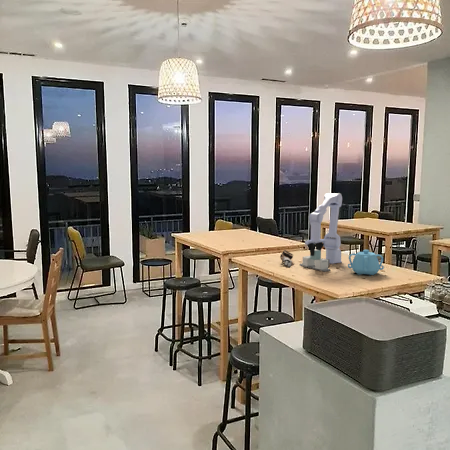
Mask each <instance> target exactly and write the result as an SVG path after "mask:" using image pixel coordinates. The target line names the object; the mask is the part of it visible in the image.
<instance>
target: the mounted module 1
mask: <svg viewBox="0 0 450 450" xmlns="http://www.w3.org/2000/svg"><path fill="white" fill-rule="evenodd" d="M302 263H303V265H305V266H312V265H315V260H313V259H310V255H306V256H302Z"/></svg>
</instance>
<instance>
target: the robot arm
mask: <svg viewBox="0 0 450 450" xmlns="http://www.w3.org/2000/svg"><path fill="white" fill-rule="evenodd" d="M342 203H343V196H342V193H340V192H338V193H335V192H334V193H332V192H326V193H324V198H323V202H322V203H321V204H320V205H318V206H317V207H316V209H315V210H314V211H313V212H311V213H309V216H308V217H309V218H308V220H309V226H310V239H308V240H305V241H304V245H307V248H308V251H309V255H310V254H311V256H314V250H315V249H317V250H321V251H322V249H323V247H324V249H325V259H330V260H329V265H330V264H331V265H332V264H337V263H338V264H339V263H342V262H343V261H342V251H341V249H340V247H341V245H342V243H341V242H342V241H341V236H340V235H339V234H338V224H339V223H338V222H339V213H340V208H341V207H342ZM328 207H329V208H330V214H329V215H330V217H329V227H328V233H326V234H325V235H324V238H321V235H322V234H321V233H322V232H321V231H322V230H321V228H322V227H321V226H322V225H321V224H322V222H323V219H324V216H325V214H326V213H327V211H328V210H327V208H328Z"/></svg>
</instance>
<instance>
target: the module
mask: <svg viewBox="0 0 450 450" xmlns="http://www.w3.org/2000/svg"><path fill="white" fill-rule="evenodd" d="M309 256H310V259H313V260H317V259H322V249H321V250H317V249H316V248H315V250H314V256H311V254H310V253H309Z"/></svg>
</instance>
